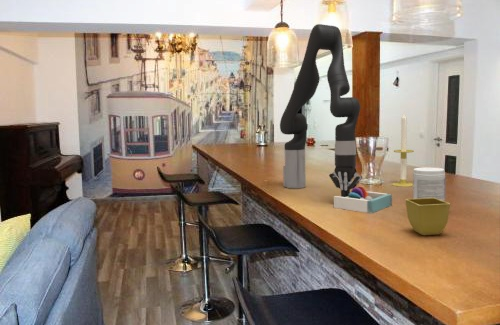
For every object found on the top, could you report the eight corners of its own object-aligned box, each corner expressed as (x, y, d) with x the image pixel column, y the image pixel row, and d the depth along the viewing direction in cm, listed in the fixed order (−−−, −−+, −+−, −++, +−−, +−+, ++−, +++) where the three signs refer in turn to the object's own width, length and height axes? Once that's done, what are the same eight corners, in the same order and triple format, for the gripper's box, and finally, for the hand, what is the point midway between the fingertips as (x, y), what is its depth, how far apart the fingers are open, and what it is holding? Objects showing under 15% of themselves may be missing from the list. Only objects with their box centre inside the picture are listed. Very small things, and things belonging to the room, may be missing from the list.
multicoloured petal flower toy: (376, 206, 154) (376, 186, 153) (361, 211, 147) (361, 190, 146) (355, 203, 160) (355, 184, 159) (340, 207, 153) (340, 187, 152)
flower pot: (404, 229, 123) (404, 198, 122) (433, 227, 124) (434, 197, 123) (418, 238, 114) (419, 205, 113) (450, 236, 115) (451, 203, 114)
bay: (333, 207, 153) (333, 196, 152) (355, 200, 164) (355, 190, 163) (371, 213, 143) (371, 201, 142) (391, 205, 154) (391, 194, 153)
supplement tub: (451, 215, 137) (452, 169, 135) (424, 218, 135) (425, 171, 133) (431, 209, 146) (432, 166, 144) (406, 211, 144) (407, 168, 142)
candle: (390, 186, 191) (391, 112, 187) (392, 182, 200) (392, 112, 196) (414, 187, 187) (415, 111, 183) (415, 183, 196) (416, 111, 192)
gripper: (324, 153, 158) (324, 199, 160) (356, 154, 149) (356, 204, 151) (335, 151, 163) (335, 196, 165) (366, 152, 154) (366, 200, 156)
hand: (345, 199), depth 158 cm, fingers closed
